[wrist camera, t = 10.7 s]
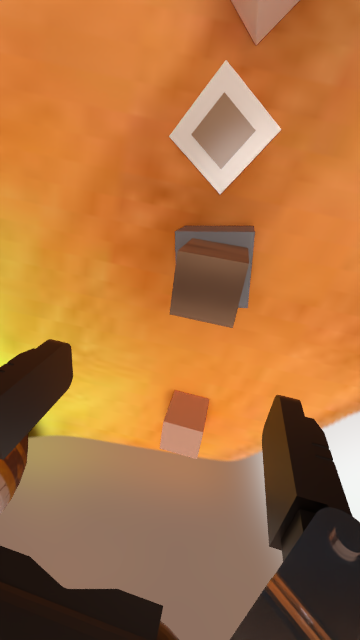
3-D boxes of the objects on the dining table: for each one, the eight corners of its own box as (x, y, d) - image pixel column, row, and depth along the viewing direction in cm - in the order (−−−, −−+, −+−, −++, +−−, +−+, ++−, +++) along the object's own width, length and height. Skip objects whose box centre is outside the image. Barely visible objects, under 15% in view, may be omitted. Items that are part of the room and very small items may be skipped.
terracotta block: (203, 424, 40) (196, 459, 35) (171, 415, 41) (159, 448, 35) (209, 398, 38) (203, 432, 32) (175, 390, 38) (163, 421, 33)
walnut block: (235, 300, 26) (232, 328, 20) (184, 289, 26) (169, 314, 21) (248, 247, 23) (249, 263, 18) (192, 238, 24) (177, 250, 19)
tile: (220, 194, 26) (219, 194, 26) (170, 137, 25) (168, 135, 25) (280, 130, 23) (281, 128, 23) (226, 62, 22) (225, 58, 22)
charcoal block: (247, 291, 30) (247, 308, 26) (186, 287, 32) (176, 303, 27) (253, 225, 27) (254, 232, 23) (186, 225, 29) (175, 231, 24)
